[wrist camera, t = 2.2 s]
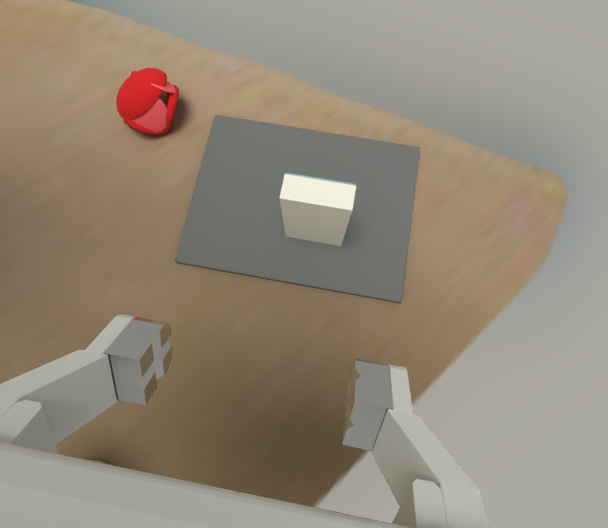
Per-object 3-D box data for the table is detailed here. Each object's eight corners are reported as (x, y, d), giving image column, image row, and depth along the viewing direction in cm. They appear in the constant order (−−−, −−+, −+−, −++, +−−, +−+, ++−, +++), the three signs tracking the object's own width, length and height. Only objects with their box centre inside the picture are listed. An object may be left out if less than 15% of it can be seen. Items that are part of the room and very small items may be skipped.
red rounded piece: (187, 68, 43) (130, 41, 40) (182, 99, 39) (120, 72, 36) (168, 122, 48) (117, 102, 45) (163, 153, 45) (107, 134, 42)
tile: (285, 236, 40) (279, 198, 31) (290, 215, 41) (285, 171, 31) (341, 246, 40) (352, 210, 30) (344, 225, 41) (356, 183, 31)
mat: (176, 262, 40) (174, 261, 40) (216, 117, 45) (215, 114, 44) (399, 302, 39) (401, 302, 39) (418, 150, 43) (420, 147, 43)
